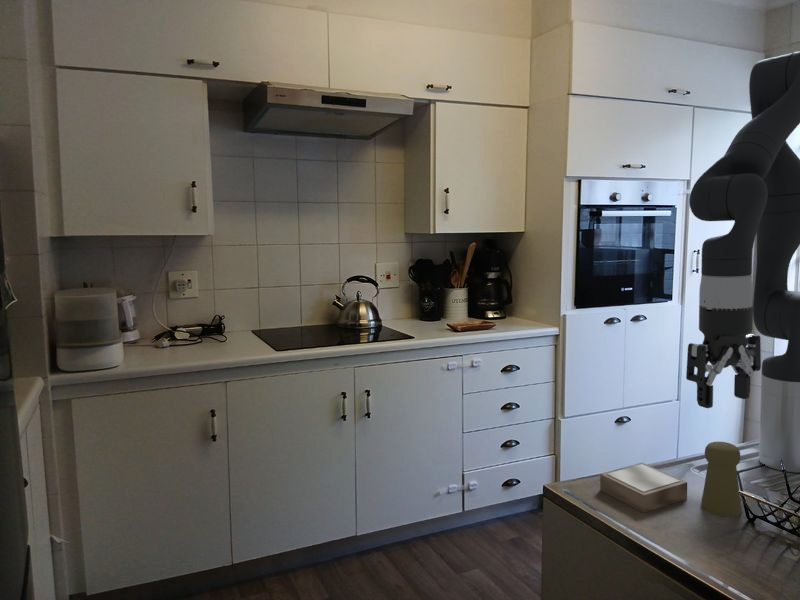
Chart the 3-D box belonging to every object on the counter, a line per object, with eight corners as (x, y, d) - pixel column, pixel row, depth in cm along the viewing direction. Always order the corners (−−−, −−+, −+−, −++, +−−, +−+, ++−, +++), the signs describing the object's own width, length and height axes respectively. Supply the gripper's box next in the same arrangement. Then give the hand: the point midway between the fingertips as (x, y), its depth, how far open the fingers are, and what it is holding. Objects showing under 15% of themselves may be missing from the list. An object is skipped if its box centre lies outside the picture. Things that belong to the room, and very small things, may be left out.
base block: (641, 477, 114) (641, 461, 114) (686, 498, 105) (687, 481, 105) (600, 489, 110) (600, 473, 110) (643, 512, 101) (643, 494, 101)
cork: (738, 520, 97) (740, 453, 96) (697, 510, 101) (698, 446, 100) (744, 505, 102) (746, 441, 101) (705, 496, 106) (706, 435, 104)
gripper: (734, 296, 104) (732, 390, 106) (673, 305, 98) (672, 404, 100) (778, 301, 97) (775, 400, 99) (715, 310, 91) (713, 416, 93)
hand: (723, 402), depth 99 cm, fingers open, 8 cm apart
